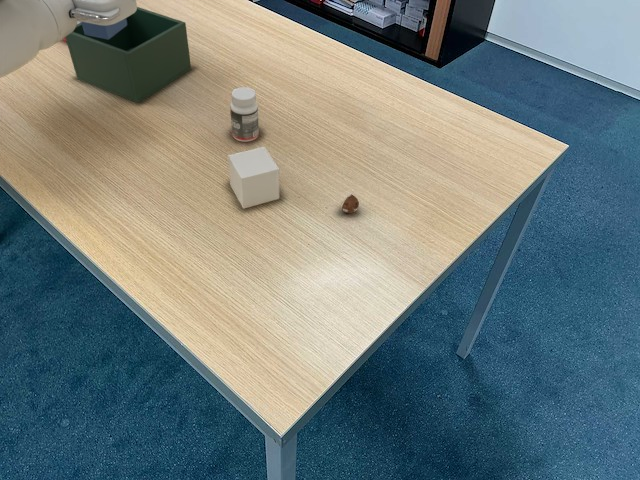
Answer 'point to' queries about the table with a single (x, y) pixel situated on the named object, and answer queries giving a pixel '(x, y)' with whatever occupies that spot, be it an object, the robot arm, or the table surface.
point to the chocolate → (350, 203)
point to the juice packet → (103, 29)
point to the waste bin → (132, 55)
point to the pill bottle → (244, 114)
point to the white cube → (254, 177)
